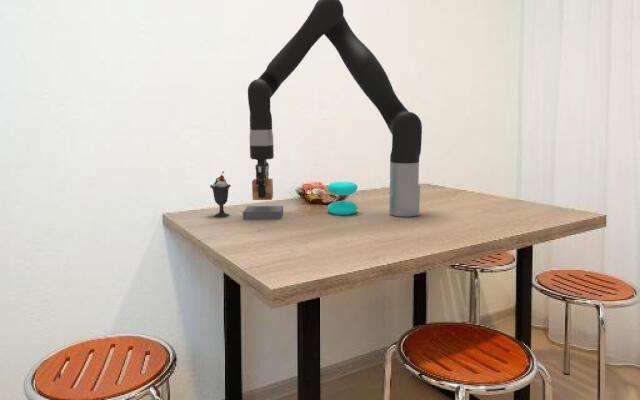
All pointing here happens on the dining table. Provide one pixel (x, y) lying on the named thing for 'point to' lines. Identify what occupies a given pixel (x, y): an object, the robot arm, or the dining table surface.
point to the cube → (267, 190)
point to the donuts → (342, 206)
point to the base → (262, 212)
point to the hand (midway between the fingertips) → (263, 195)
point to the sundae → (220, 194)
